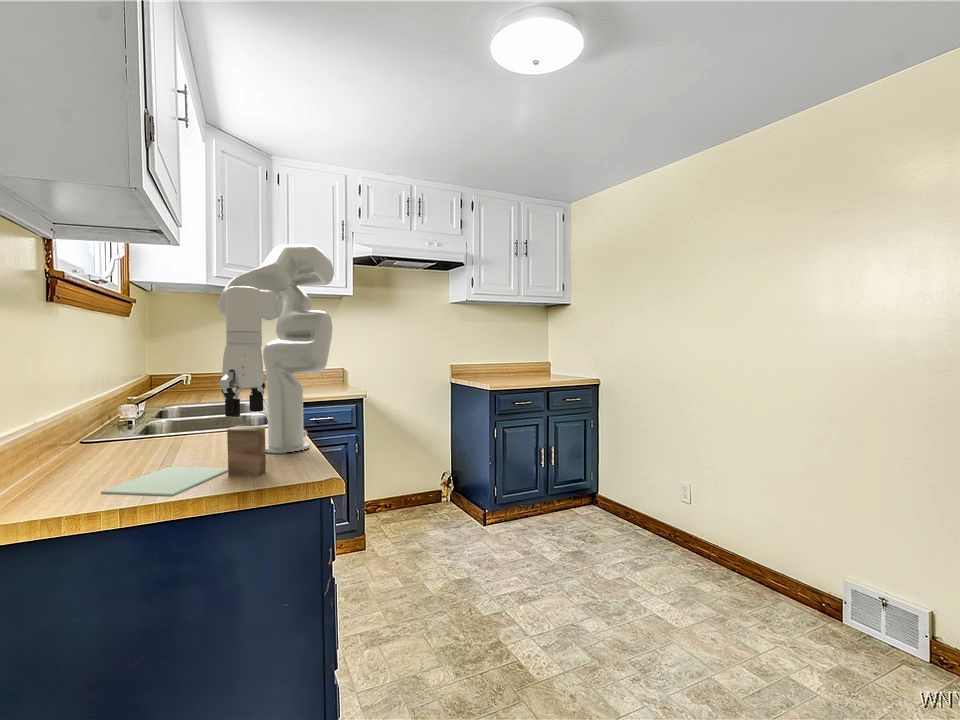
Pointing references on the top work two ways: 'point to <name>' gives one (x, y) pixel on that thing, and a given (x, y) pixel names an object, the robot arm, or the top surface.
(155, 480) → the sage mat
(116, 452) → the top surface
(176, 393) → the top surface
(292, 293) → the robot arm
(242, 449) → the walnut slab
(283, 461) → the top surface
